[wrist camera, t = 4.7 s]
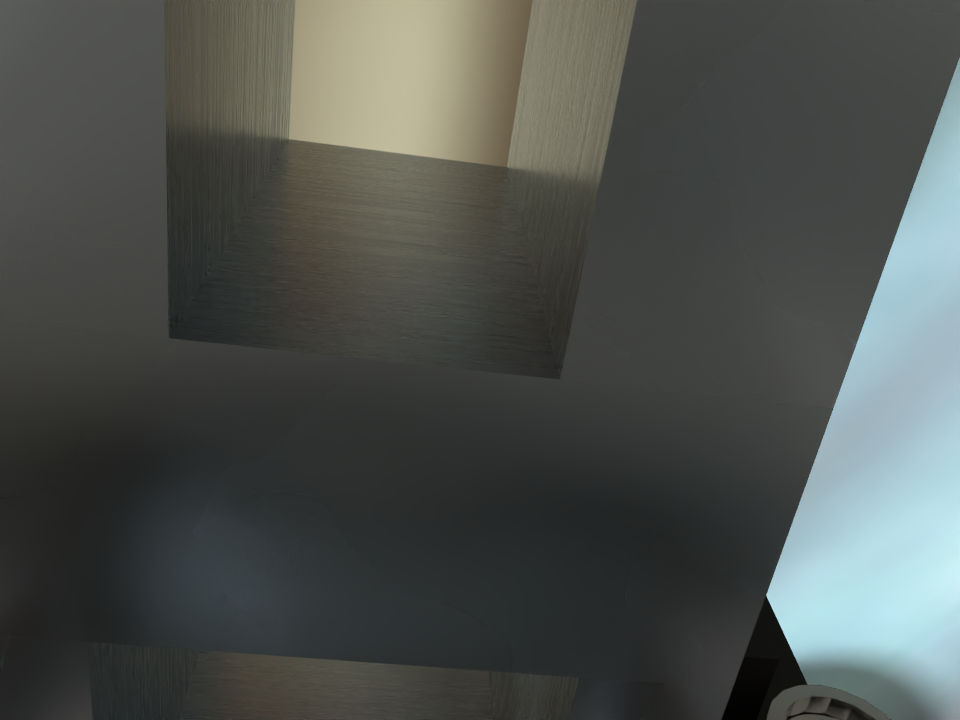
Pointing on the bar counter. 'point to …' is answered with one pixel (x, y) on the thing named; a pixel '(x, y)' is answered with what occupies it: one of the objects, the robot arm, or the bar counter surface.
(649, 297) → the grey rectangular block
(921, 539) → the bar counter surface
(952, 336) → the bar counter surface
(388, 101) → the board
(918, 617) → the bar counter surface
